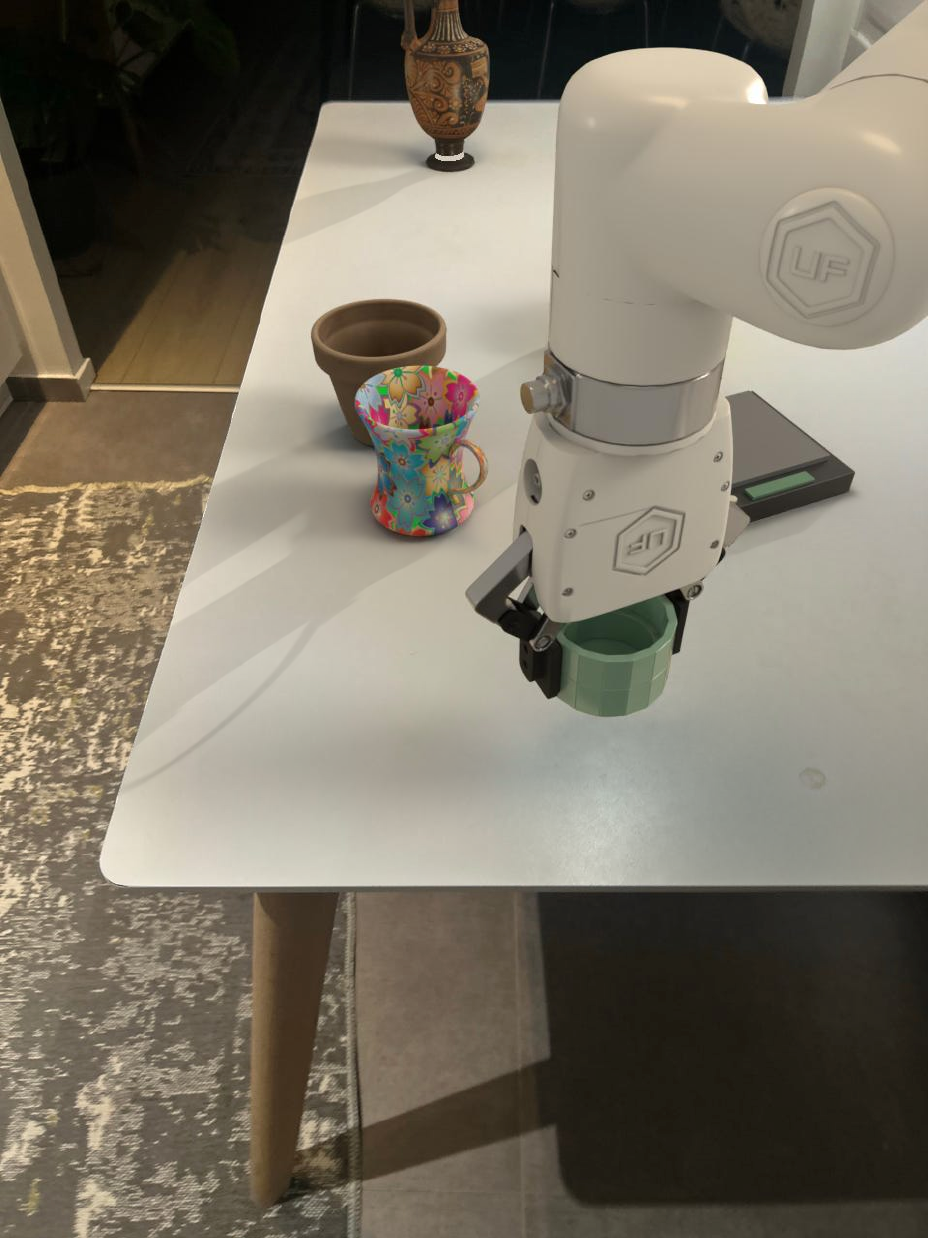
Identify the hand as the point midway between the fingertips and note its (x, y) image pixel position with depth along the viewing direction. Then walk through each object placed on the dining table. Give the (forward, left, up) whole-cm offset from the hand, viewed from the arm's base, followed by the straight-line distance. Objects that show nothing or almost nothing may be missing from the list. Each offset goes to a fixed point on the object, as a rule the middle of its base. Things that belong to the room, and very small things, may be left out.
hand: (601, 657), depth 53 cm
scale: (+21, -26, -8) cm, 34 cm away
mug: (+25, 0, -8) cm, 27 cm away
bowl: (0, 0, -1) cm, 1 cm away
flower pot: (+39, -1, -8) cm, 40 cm away
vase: (+101, -33, -8) cm, 107 cm away
